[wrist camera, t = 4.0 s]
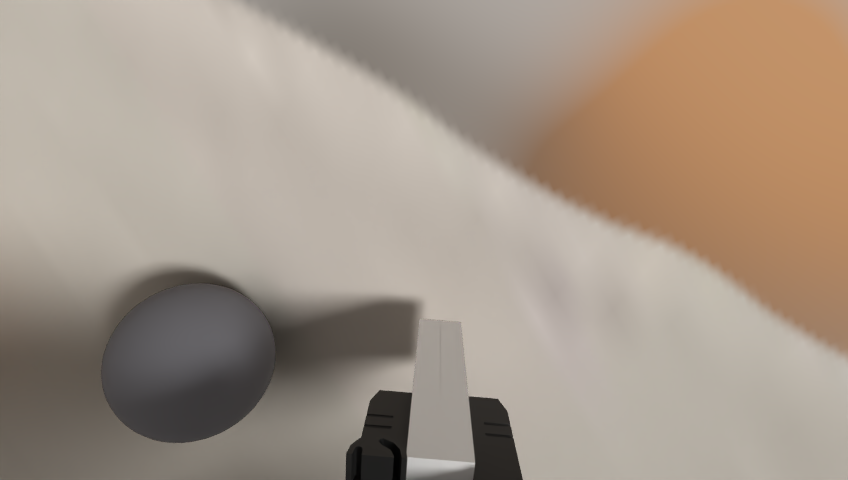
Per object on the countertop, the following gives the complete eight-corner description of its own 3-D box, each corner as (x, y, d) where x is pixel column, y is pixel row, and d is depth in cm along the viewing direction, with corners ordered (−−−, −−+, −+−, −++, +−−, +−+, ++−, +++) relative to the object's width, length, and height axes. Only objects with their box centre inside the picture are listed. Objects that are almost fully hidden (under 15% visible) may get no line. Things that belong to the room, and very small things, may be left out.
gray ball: (293, 267, 18) (228, 331, 12) (297, 385, 19) (241, 487, 14) (160, 259, 18) (39, 318, 12) (174, 377, 19) (72, 475, 14)
